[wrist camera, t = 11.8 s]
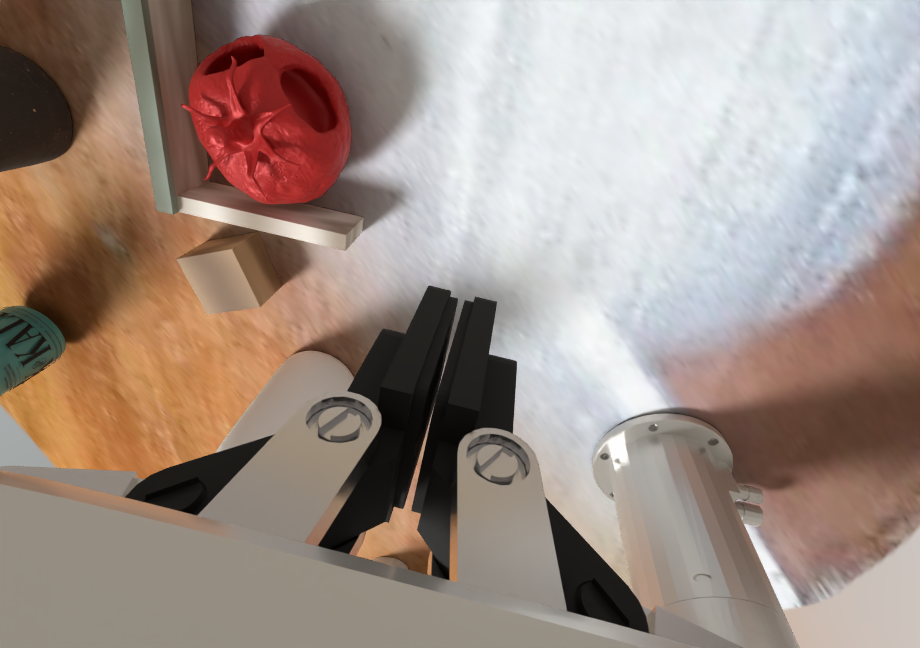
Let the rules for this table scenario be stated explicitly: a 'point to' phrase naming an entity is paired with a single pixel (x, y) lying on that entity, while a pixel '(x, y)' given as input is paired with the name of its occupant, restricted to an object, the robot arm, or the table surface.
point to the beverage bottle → (26, 345)
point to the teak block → (231, 273)
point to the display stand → (178, 147)
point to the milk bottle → (288, 395)
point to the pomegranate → (271, 119)
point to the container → (30, 114)
